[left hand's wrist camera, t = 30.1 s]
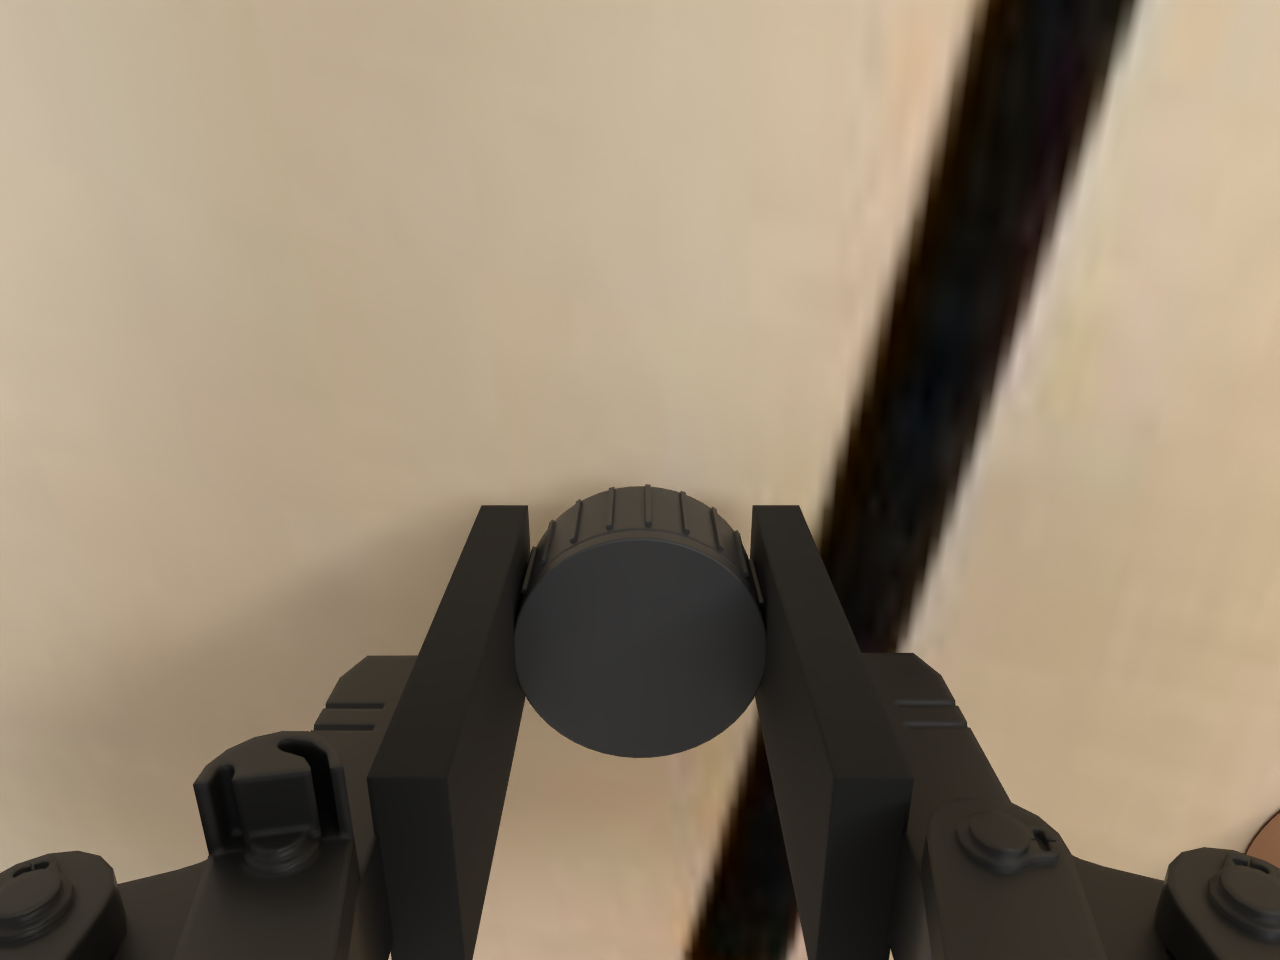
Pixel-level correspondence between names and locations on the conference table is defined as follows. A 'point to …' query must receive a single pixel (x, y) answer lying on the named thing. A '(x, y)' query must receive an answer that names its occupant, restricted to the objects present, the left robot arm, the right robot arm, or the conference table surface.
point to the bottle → (1267, 843)
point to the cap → (640, 624)
